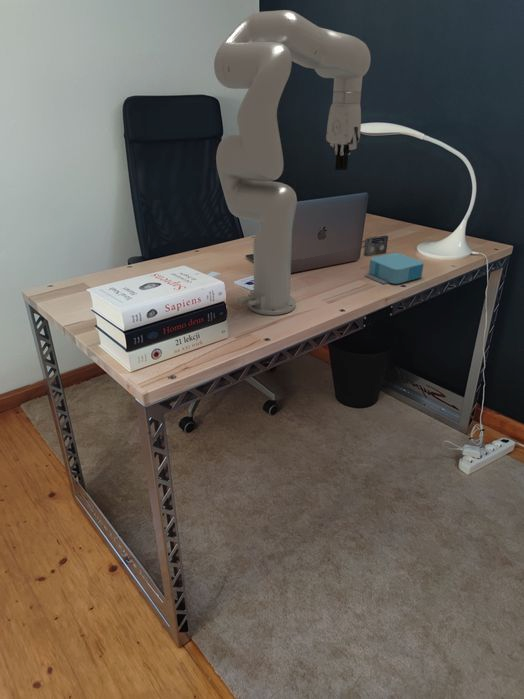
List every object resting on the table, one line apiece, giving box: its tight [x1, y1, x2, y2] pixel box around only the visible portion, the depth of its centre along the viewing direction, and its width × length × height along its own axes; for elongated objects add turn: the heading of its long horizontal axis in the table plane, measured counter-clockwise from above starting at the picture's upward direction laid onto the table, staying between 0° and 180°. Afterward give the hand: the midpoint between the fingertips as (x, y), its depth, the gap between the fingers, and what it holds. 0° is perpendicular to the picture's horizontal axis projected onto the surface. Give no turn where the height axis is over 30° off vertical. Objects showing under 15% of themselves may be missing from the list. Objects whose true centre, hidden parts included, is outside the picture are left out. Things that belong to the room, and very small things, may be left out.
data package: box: [368, 252, 424, 285], centre depth 152 cm, size 12×4×12 cm
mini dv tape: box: [363, 235, 389, 257], centre depth 171 cm, size 8×2×6 cm, turn 116°
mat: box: [364, 273, 391, 286], centre depth 154 cm, size 15×8×1 cm, turn 122°
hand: (341, 169), depth 147 cm, fingers closed
